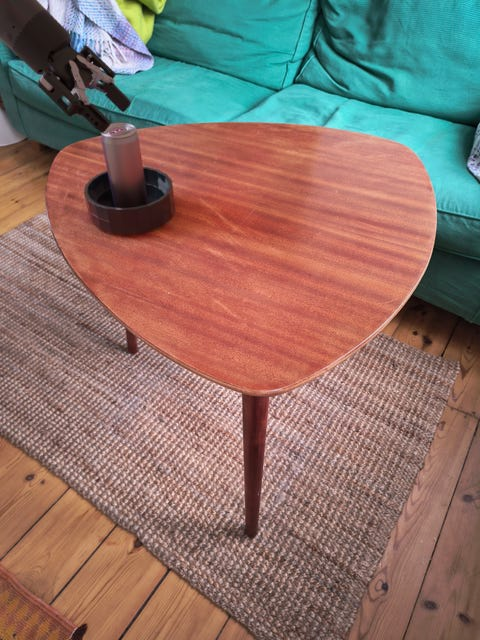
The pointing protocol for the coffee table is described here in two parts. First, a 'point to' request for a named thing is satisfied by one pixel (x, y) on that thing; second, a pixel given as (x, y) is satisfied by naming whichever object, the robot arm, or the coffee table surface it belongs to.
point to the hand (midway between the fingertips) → (117, 117)
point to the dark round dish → (134, 217)
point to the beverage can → (124, 165)
